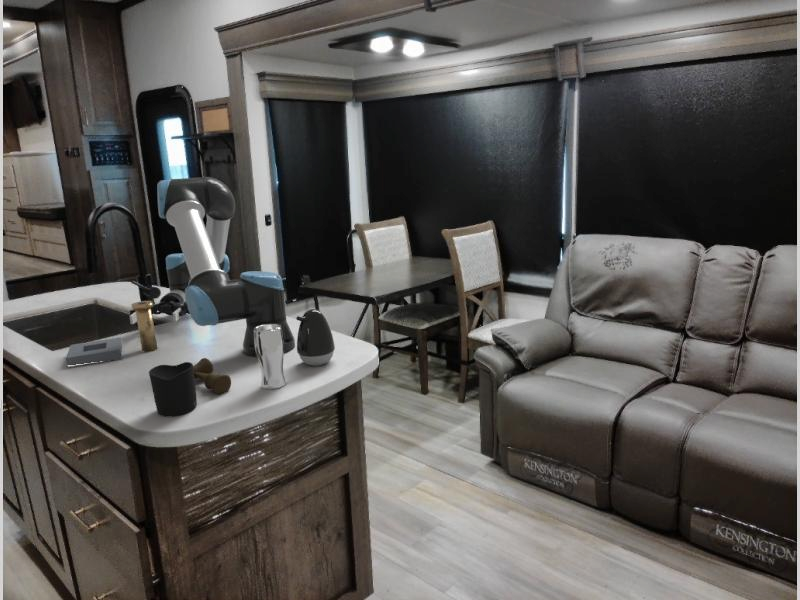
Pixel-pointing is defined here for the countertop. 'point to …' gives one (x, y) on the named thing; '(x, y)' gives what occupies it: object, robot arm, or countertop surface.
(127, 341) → the countertop surface
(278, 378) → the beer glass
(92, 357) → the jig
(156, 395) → the pen holder
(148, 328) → the bushing
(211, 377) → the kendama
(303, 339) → the pump dispenser
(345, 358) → the countertop surface
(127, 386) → the countertop surface
